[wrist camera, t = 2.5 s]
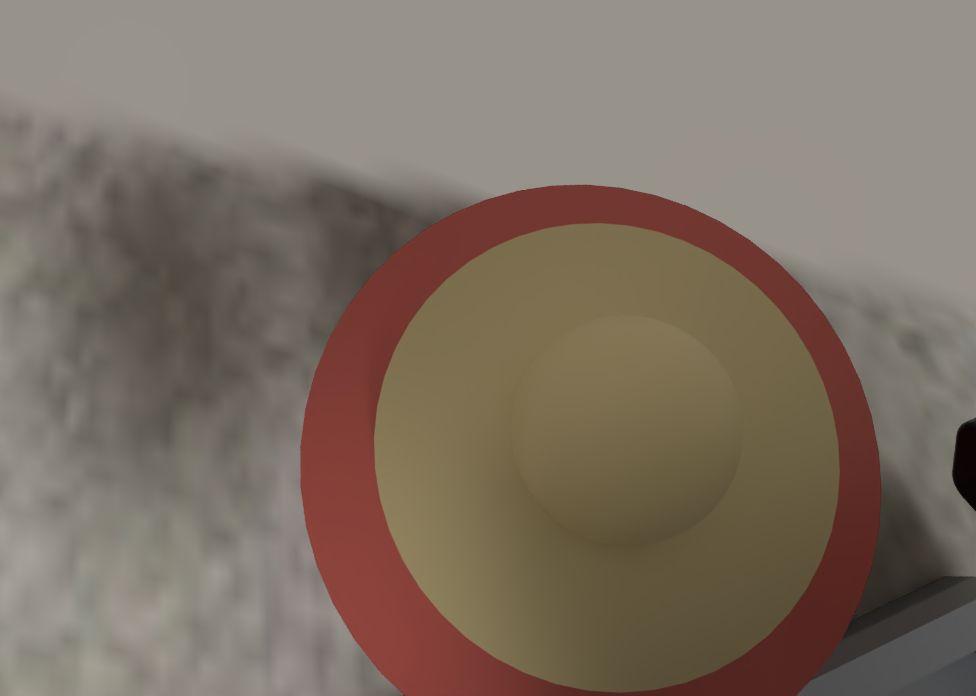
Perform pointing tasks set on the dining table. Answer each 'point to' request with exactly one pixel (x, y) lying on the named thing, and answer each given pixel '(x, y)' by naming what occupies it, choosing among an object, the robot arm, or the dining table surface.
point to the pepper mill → (589, 458)
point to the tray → (908, 647)
